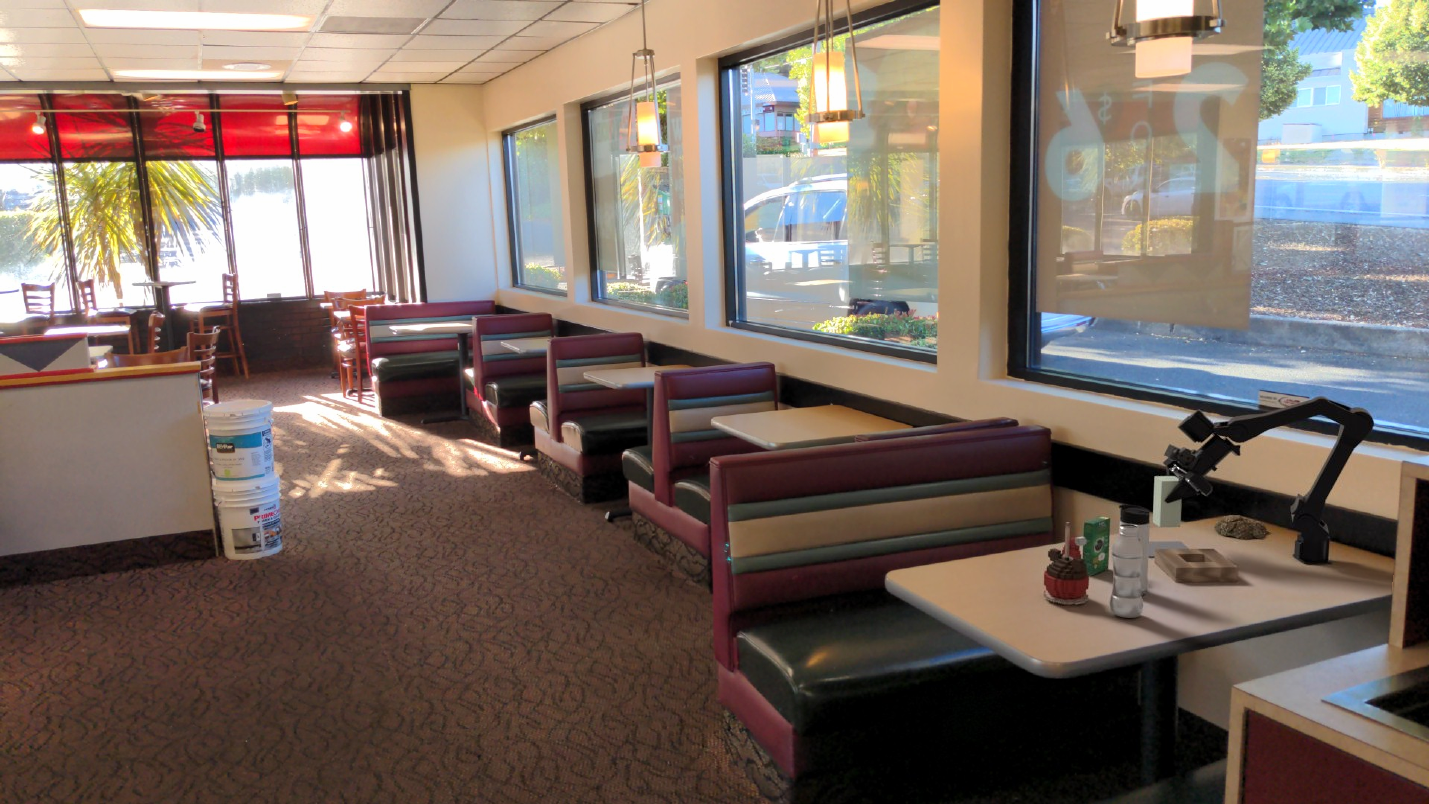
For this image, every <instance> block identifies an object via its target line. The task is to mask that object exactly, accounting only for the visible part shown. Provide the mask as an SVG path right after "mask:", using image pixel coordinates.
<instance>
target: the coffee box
mask: <svg viewBox="0 0 1429 804" xmlns="http://www.w3.org/2000/svg"><path fill="white" fill-rule="evenodd" d="M1082 530H1083V534H1082V537H1085V539H1086V544H1085V545H1082V555H1081V559H1084V562H1085V563H1086V570H1087V574H1088V575H1090V576H1093V575H1094V576H1095V575H1097V574H1098V573H1099V574H1100V573H1101V572H1105V571H1106V570H1109V562H1110V561H1109V560H1110V558H1109V557H1110V535H1111V534H1110V531H1111V517H1108V516H1102V515H1101V516H1097V517H1094V518H1092V519H1089V520H1085V521H1083V529H1082ZM1090 576H1089V577H1090Z"/></svg>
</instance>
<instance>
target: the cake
mask: <svg viewBox="0 0 1429 804" xmlns="http://www.w3.org/2000/svg"><path fill="white" fill-rule="evenodd" d="M1070 532H1071V522H1069V521H1068V522H1067V521H1066V522H1065V531H1064V533H1065V534H1064V535H1065V536H1064V546H1063V547H1062V550H1060V549H1058V548H1056V547H1054V548H1050V549H1049V550H1048V551H1047V557H1048V558H1049V561H1051V563H1049V564H1048V565H1047V566H1046V570H1044V573H1043V586H1045V590H1044V591H1043V597H1044V598H1046V599H1045V600H1047V599H1048V600H1047V601H1049V600H1051V601H1050V602H1052V601H1053V602H1052V603H1057V602H1058V604H1059V603H1062V604H1063V603H1064V604H1063V605H1073V604H1074V605H1081V604H1086V602H1088V601H1089V594H1087V590H1089V586H1090V576H1089V575H1088V574H1087V570H1086V563H1085V562H1084V559H1082V555H1083V553H1082V554H1081V551H1082V550H1080V549H1081V547H1083V545H1085V544H1086V539H1085V537H1083V536H1075V537H1072V538H1070V537H1071V535H1070V534H1071V533H1070Z"/></svg>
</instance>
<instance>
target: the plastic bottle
mask: <svg viewBox="0 0 1429 804" xmlns="http://www.w3.org/2000/svg"><path fill="white" fill-rule="evenodd" d="M1118 527H1119V530H1118V535H1120V537H1119V536H1118V537H1117V539H1116V540H1115V541H1114V542H1113V543H1112V545H1111V548H1110V551H1111V559H1112V560H1111V561H1112V570H1113V571H1112V572H1113V574H1112V575H1113V577H1112V578H1113V580H1112V588H1111V589H1112V590H1111V594H1110V598H1109V607H1110V608H1109V609H1110V611H1111V612H1112V614H1113V615H1115V616H1117V617H1120V618H1126V619H1135V618H1138V617H1140V615H1142V613H1143V609H1144V602H1143V595H1142V596H1141V570H1142V563H1143V558H1144V548H1143V546H1142V544H1141V542H1140V541H1139V540H1138V538H1137V536H1138V535H1139V533H1138V526H1137V525H1133V524H1121V525H1120V524H1119V526H1118Z"/></svg>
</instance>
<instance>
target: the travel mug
mask: <svg viewBox="0 0 1429 804" xmlns="http://www.w3.org/2000/svg"><path fill="white" fill-rule="evenodd" d="M1118 509H1120V511H1119V512H1120V513H1119V514H1120V515H1119V516H1120V517H1119V526H1120V525H1121V524H1133V525H1137V526H1138V533H1139V535H1138V536H1137V538H1138V540H1139V541H1140V542H1141V544H1142V546H1143V548H1144V558H1143V563H1142V570H1141V595H1142V596H1144V595H1143V594H1145V595H1146V594H1147V593H1148V575H1149V558H1148V553H1149V542H1150V523H1151V522H1150V521H1151V520H1150V518H1151V517H1150V516H1151V515H1150V513H1151V512H1150V510H1149V509H1147V508H1146V507H1143V506H1140V505H1135V504H1134V505H1133V504H1126V503H1122V504H1119V505H1118ZM1118 535H1119V534H1118ZM1119 537H1120V535H1119V536H1118V538H1119Z"/></svg>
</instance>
